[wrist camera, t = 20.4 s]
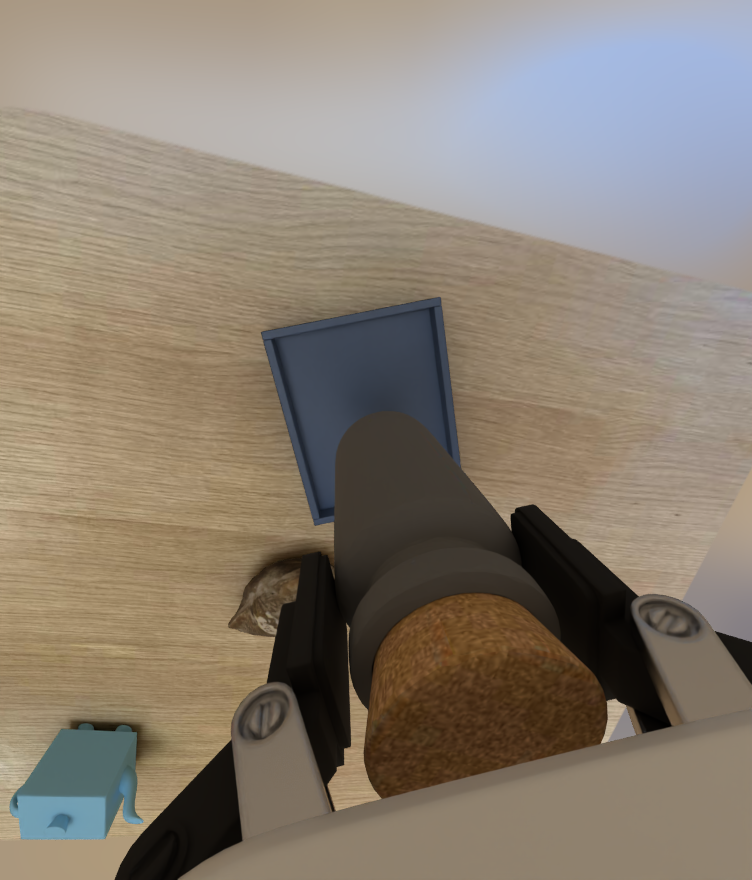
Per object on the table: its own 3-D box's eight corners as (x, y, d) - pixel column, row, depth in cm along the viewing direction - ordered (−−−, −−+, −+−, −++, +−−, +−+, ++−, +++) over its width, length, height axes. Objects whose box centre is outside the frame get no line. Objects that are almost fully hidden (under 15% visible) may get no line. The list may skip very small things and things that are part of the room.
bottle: (386, 387, 20) (515, 561, 5) (456, 456, 21) (693, 724, 7) (313, 462, 21) (261, 778, 6) (385, 522, 22) (472, 878, 8)
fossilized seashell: (312, 539, 31) (215, 571, 33) (317, 622, 27) (206, 654, 29) (349, 563, 37) (264, 590, 39) (357, 635, 33) (262, 661, 35)
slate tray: (266, 331, 28) (260, 332, 26) (432, 298, 29) (440, 296, 26) (316, 512, 33) (314, 526, 31) (455, 482, 34) (464, 493, 32)
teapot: (175, 724, 39) (139, 813, 32) (171, 762, 41) (137, 855, 34) (51, 718, 38) (-15, 811, 30) (53, 759, 39) (-10, 856, 32)
